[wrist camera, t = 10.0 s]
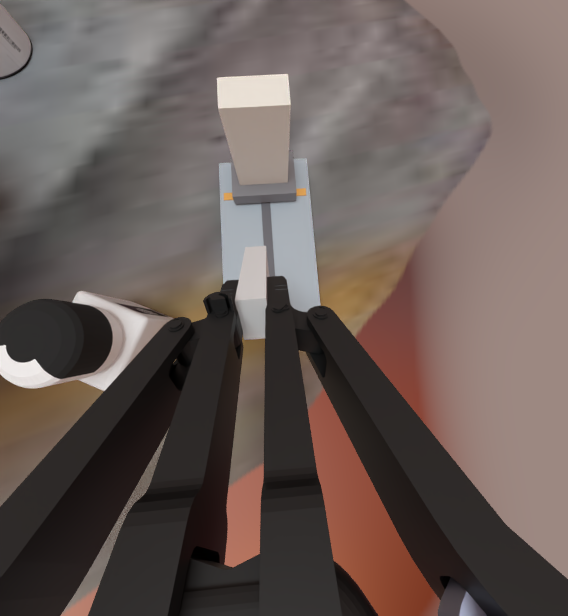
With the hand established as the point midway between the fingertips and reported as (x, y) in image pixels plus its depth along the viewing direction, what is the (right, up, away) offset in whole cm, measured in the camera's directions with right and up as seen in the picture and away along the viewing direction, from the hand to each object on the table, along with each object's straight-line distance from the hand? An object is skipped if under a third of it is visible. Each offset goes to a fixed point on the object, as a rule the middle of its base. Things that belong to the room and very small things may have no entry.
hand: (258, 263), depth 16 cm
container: (-16, -7, +12) cm, 22 cm away
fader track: (0, +6, +14) cm, 15 cm away
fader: (-1, +14, +12) cm, 18 cm away
